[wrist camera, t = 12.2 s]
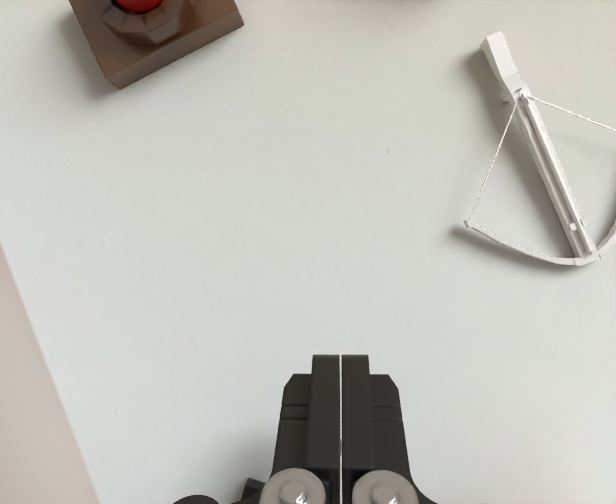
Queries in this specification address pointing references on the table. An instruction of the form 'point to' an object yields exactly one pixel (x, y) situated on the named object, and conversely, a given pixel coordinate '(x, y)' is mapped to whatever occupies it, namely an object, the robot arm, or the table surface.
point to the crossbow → (540, 162)
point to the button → (139, 5)
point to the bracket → (252, 488)
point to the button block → (151, 33)
